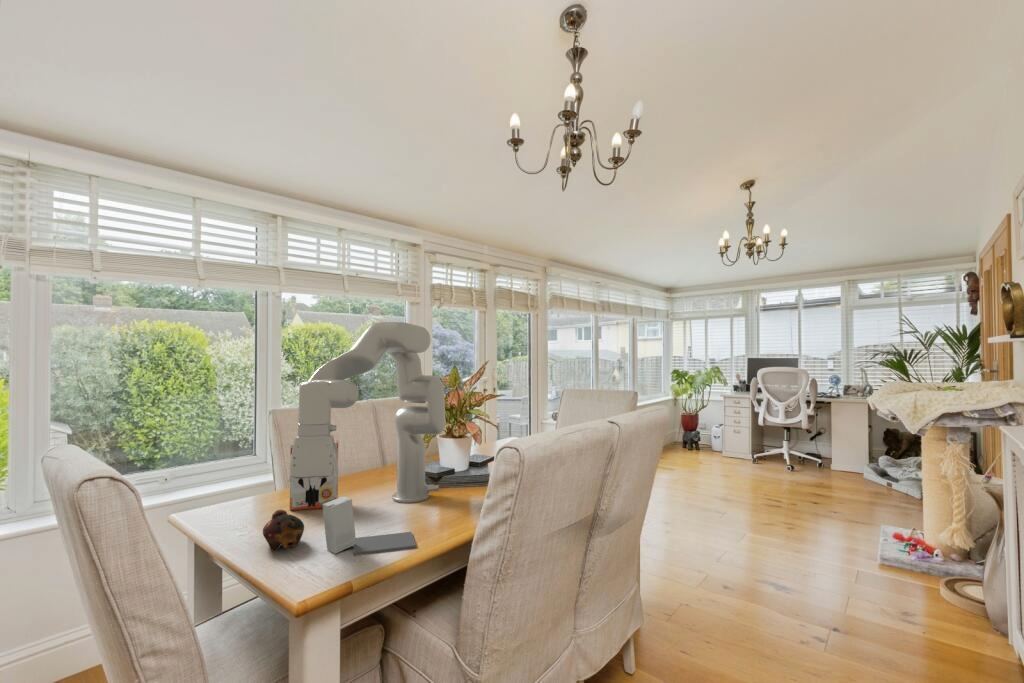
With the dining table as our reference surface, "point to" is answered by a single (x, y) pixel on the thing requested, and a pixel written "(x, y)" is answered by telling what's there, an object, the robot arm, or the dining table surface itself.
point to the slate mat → (384, 543)
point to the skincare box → (339, 524)
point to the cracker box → (325, 492)
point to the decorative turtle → (283, 530)
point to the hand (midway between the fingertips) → (311, 504)
